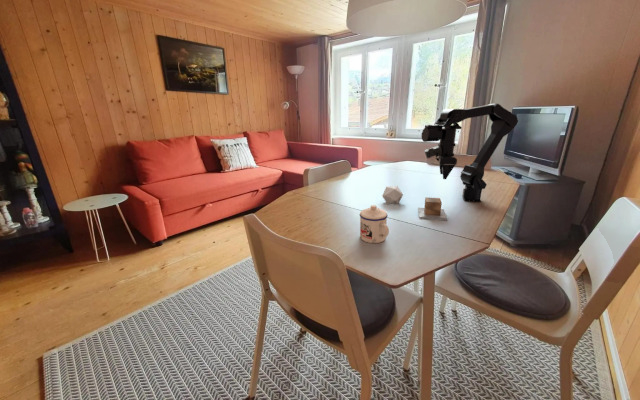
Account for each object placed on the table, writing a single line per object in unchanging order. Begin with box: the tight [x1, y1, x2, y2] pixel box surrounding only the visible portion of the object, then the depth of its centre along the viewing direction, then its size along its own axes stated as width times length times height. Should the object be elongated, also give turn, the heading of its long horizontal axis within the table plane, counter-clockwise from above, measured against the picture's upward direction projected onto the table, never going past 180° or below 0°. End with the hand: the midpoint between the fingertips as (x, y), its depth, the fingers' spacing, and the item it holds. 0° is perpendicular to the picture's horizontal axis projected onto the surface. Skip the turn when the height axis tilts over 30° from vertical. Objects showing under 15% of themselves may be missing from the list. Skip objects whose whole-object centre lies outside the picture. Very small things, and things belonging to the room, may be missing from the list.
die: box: [381, 185, 404, 205], centre depth 118 cm, size 8×9×10 cm
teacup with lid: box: [359, 204, 390, 244], centre depth 86 cm, size 12×9×12 cm
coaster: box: [417, 207, 448, 221], centre depth 105 cm, size 10×10×1 cm
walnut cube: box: [423, 196, 442, 216], centre depth 104 cm, size 6×6×6 cm
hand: (443, 176), depth 114 cm, fingers open, 9 cm apart
